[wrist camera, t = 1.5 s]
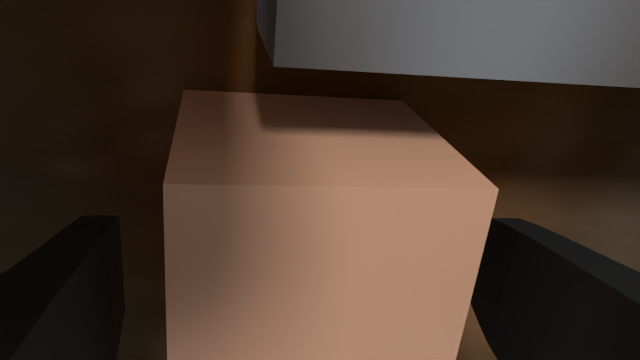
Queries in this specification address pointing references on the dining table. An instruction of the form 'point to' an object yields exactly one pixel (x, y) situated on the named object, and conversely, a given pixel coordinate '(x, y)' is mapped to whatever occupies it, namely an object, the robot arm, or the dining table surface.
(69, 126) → the dining table surface
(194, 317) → the terracotta cube
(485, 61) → the grey flat square block
